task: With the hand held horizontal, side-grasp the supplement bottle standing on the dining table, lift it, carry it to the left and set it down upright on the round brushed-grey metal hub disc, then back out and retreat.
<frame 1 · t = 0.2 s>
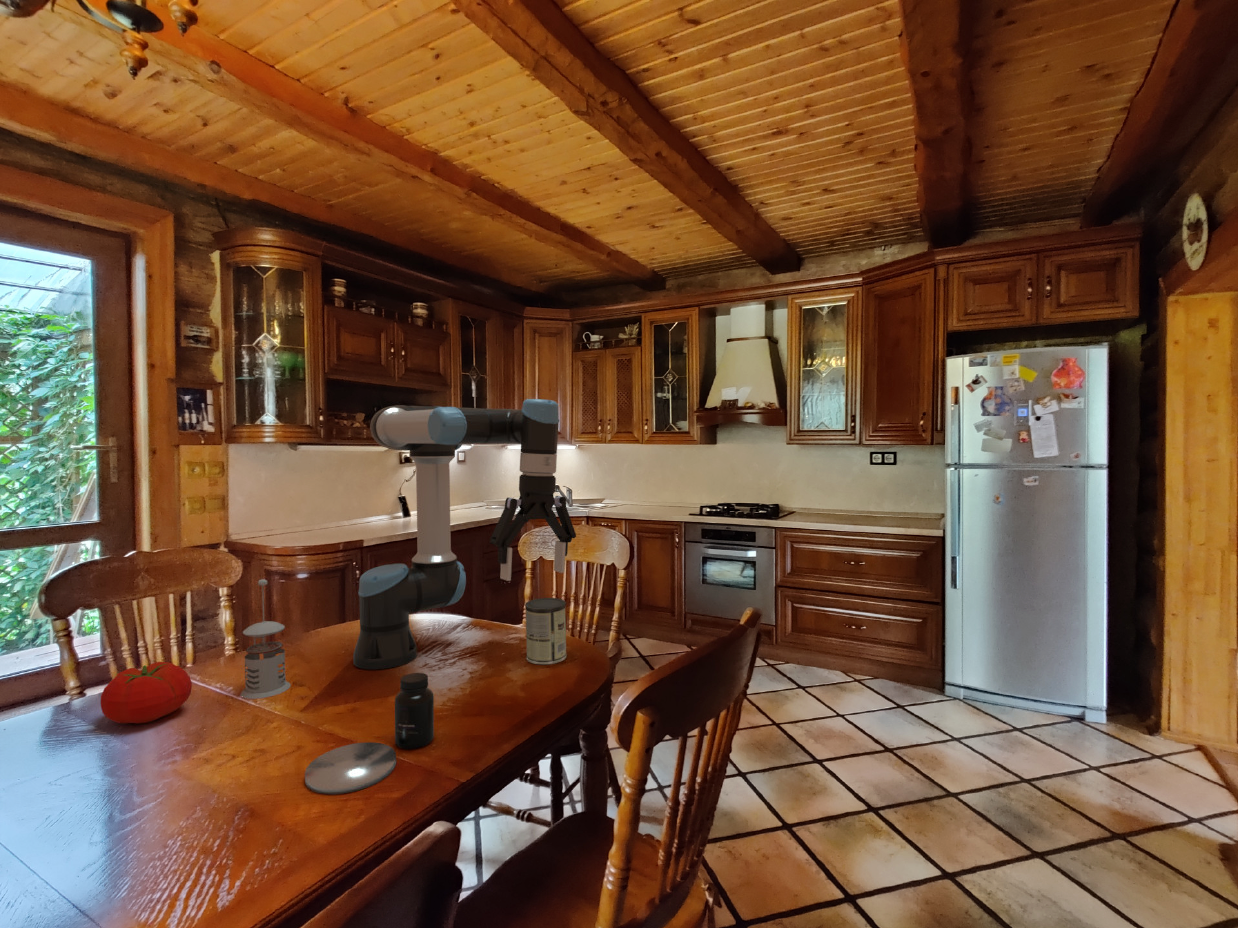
hand: (533, 575, 126), 27 cm above the table, tool pointing down, fingers open, 13 cm apart
supplement bottle: (415, 742, 111), on the table
hub disc: (351, 769, 102), on the table
coffee can: (546, 658, 154), on the table
tomato: (147, 717, 122), on the table
french press: (265, 689, 136), on the table
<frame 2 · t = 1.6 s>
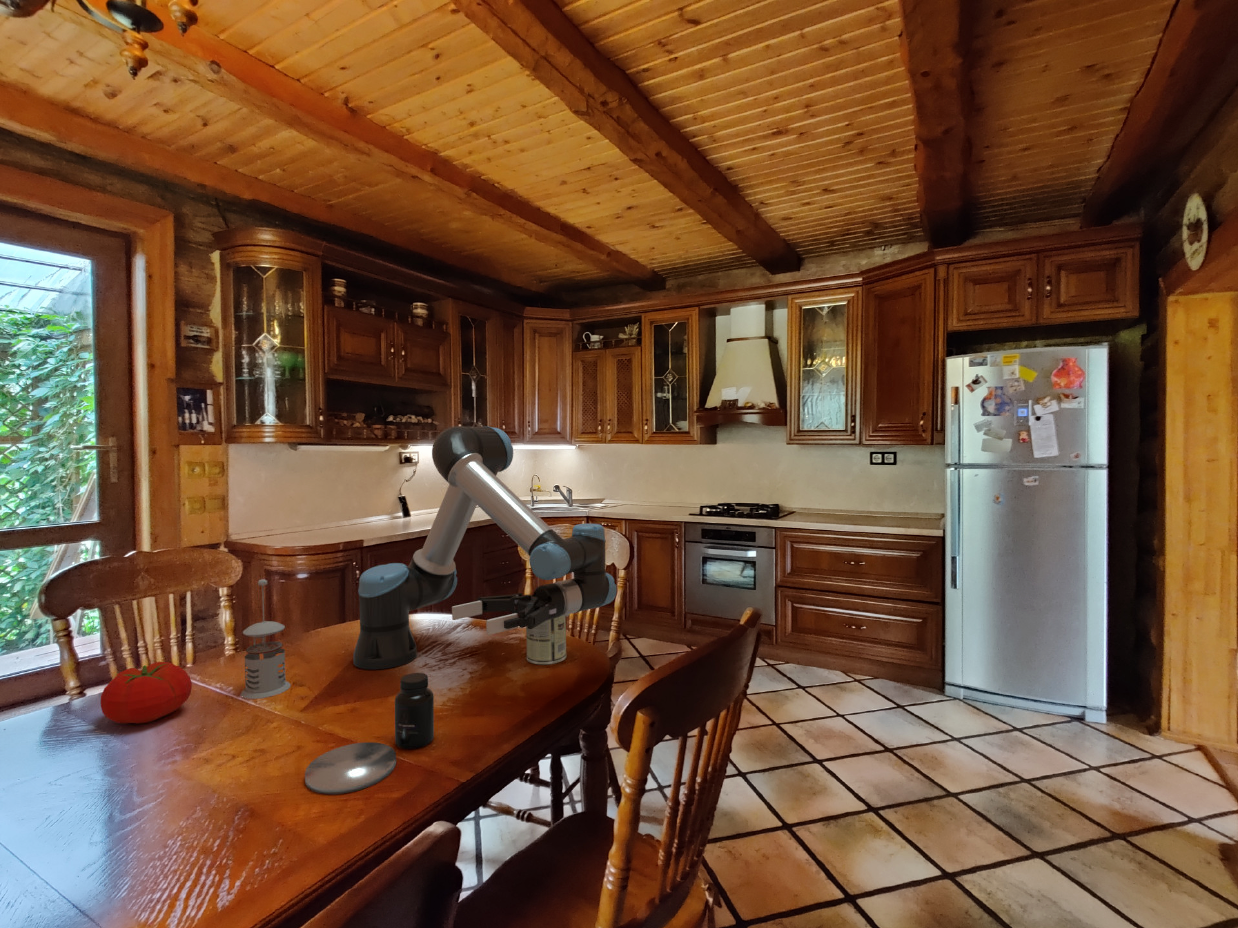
hand: (469, 620, 118), 20 cm above the table, tool horizontal, fingers open, 13 cm apart
nothing on the table moved.
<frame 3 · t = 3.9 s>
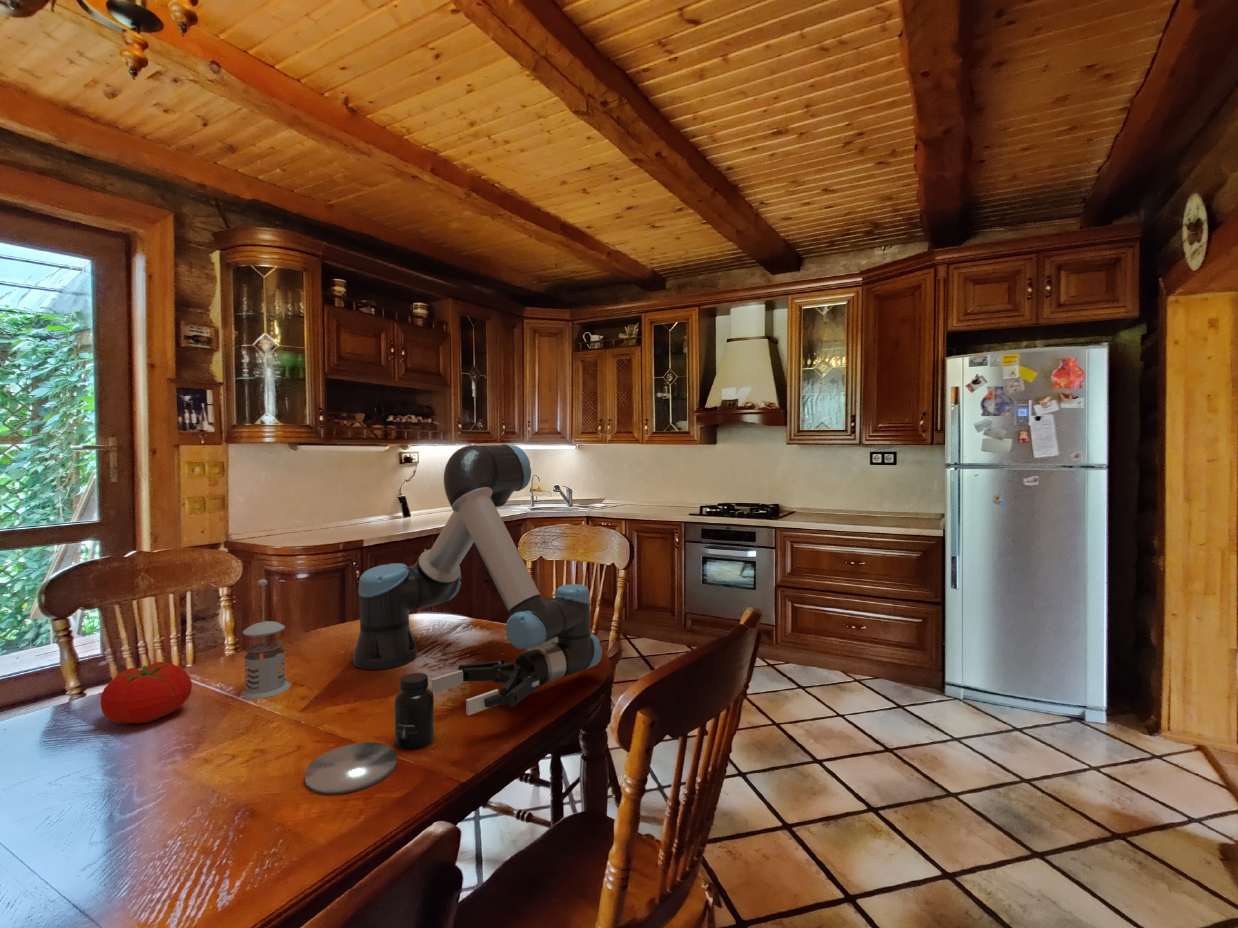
hand: (448, 696, 115), 7 cm above the table, tool horizontal, fingers open, 13 cm apart
nothing on the table moved.
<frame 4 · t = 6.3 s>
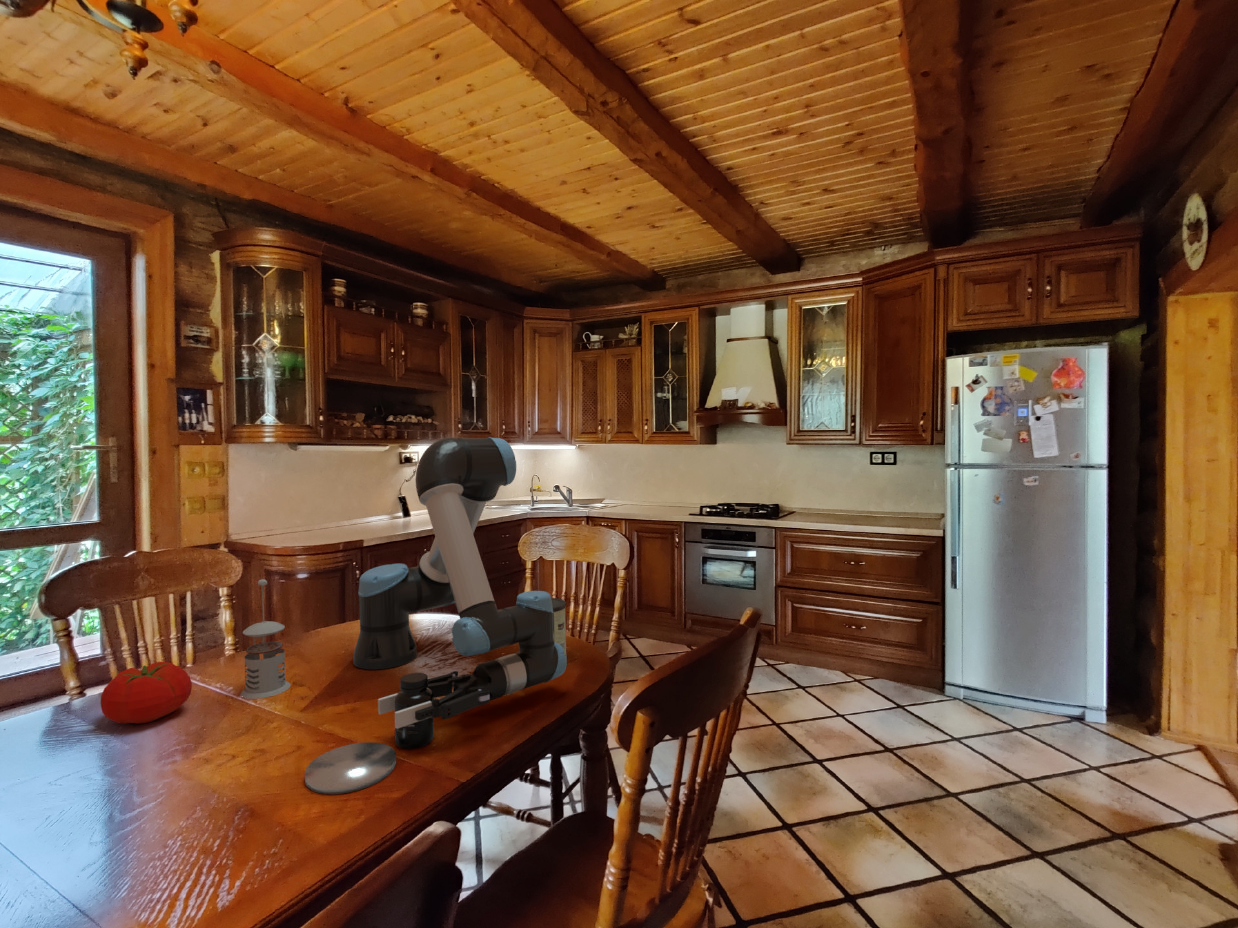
hand: (387, 713, 108), 7 cm above the table, tool horizontal, fingers closed on supplement bottle, 7 cm apart
supplement bottle: (415, 742, 111), on the table, touching gripper
everything else where it was.
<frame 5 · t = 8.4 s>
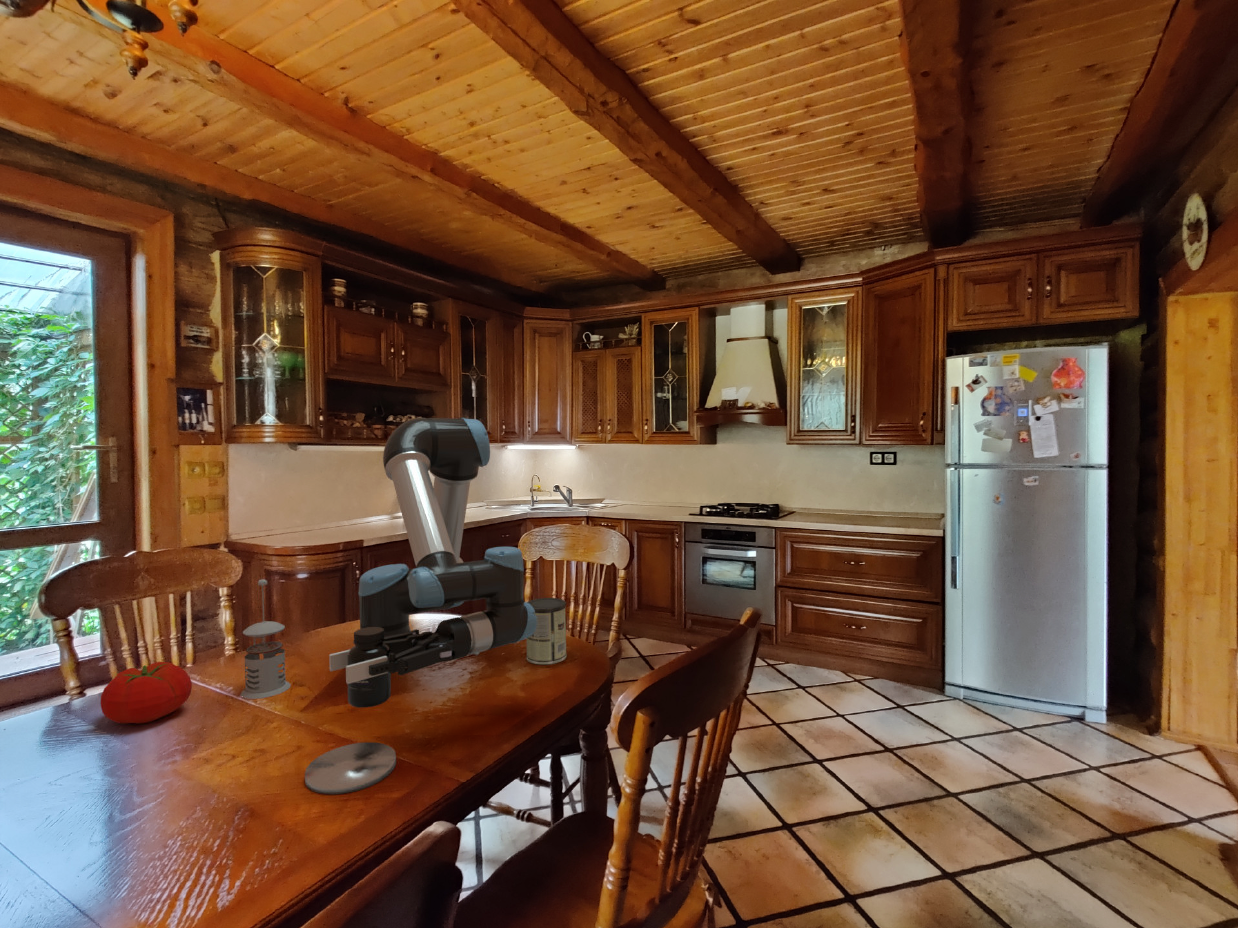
hand: (338, 668, 99), 18 cm above the table, tool horizontal, fingers closed on supplement bottle, 7 cm apart
supplement bottle: (370, 701, 103), point 11 cm above the table, touching gripper
everything else where it was.
when the fingers open (9 cm above the table, at t = 10.6 s): supplement bottle drops 1 cm, resting on hub disc.
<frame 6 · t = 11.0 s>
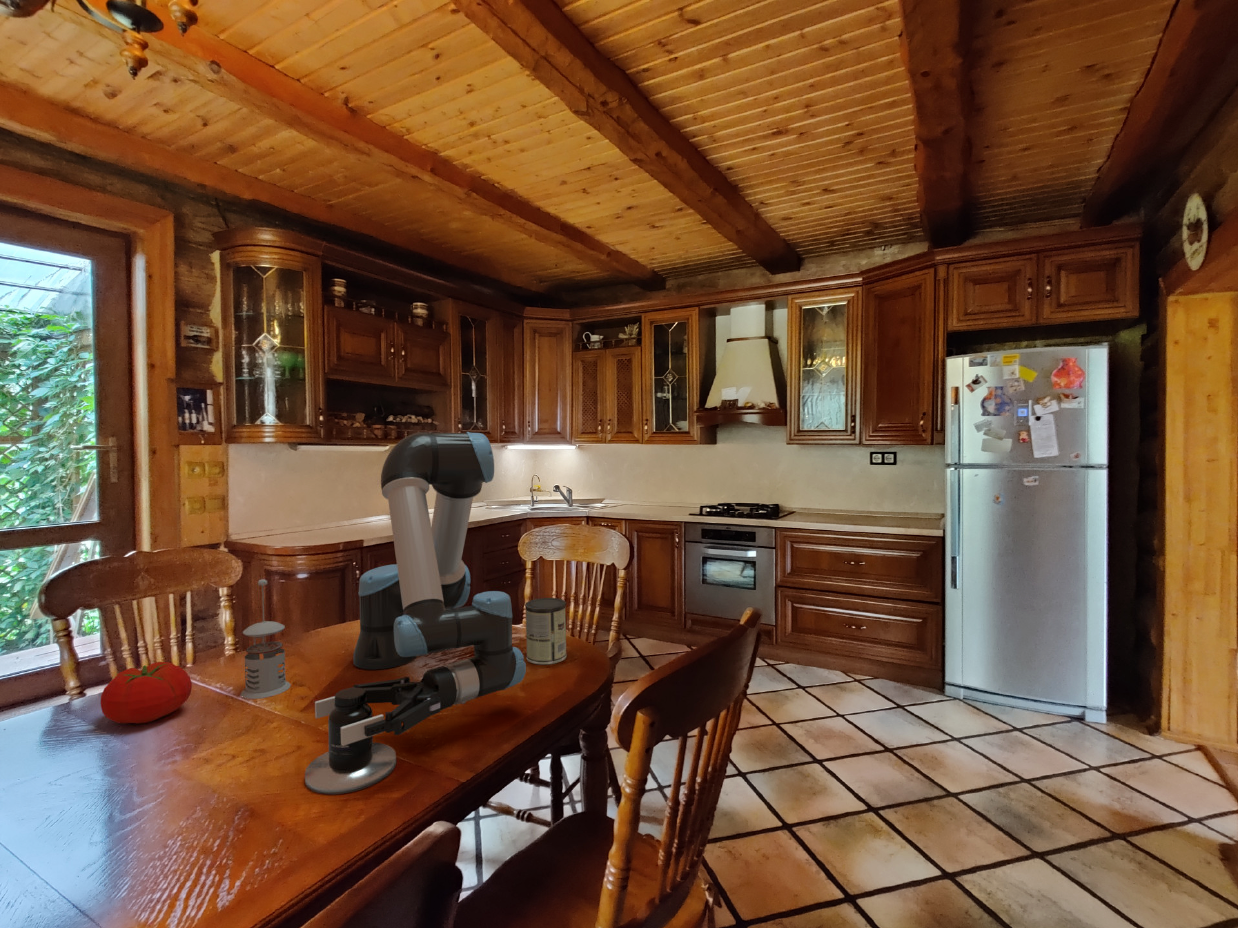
hand: (327, 722, 99), 9 cm above the table, tool horizontal, fingers open, 12 cm apart
supplement bottle: (351, 763, 102), point 1 cm above the table, touching hub disc
everything else where it was.
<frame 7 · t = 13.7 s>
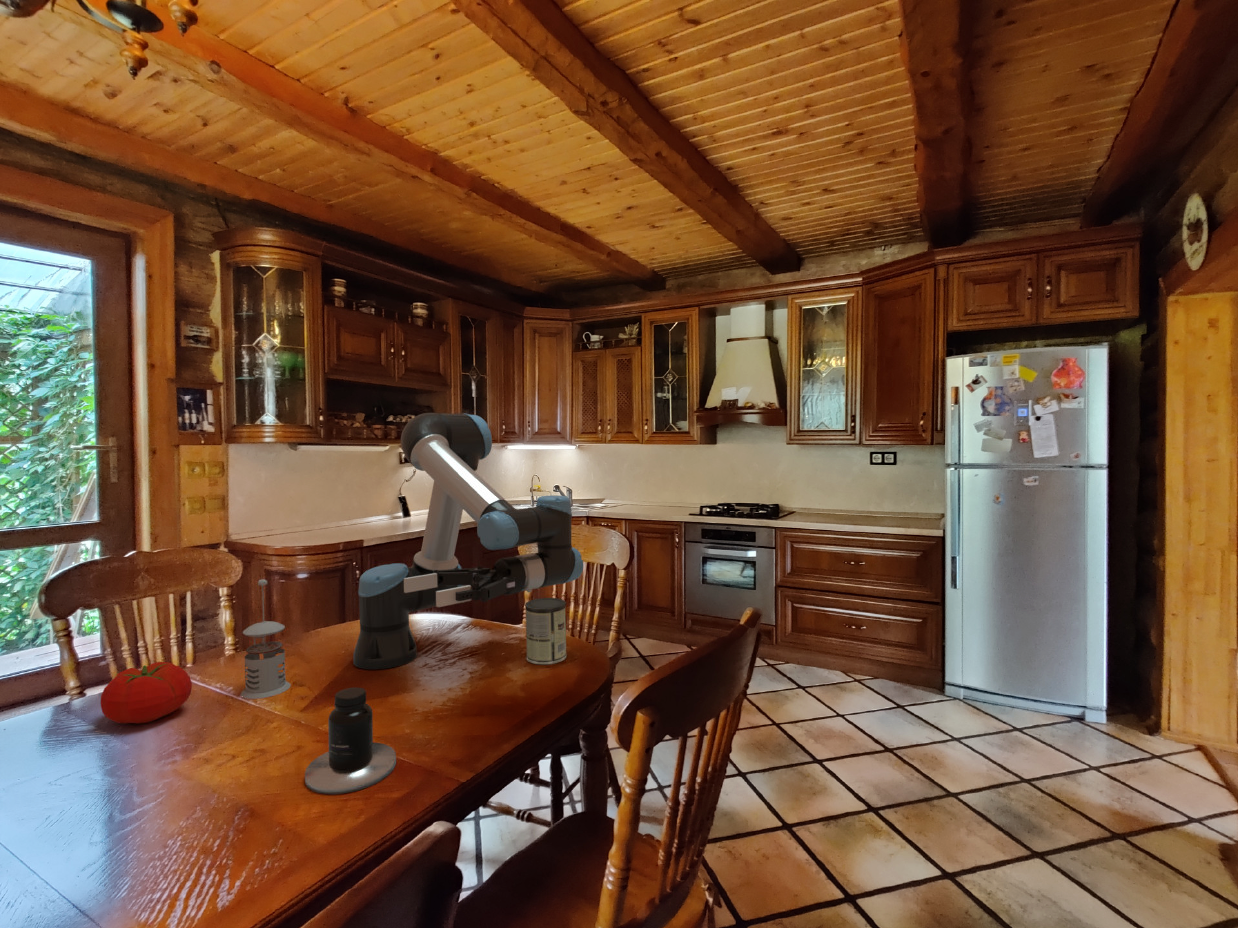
hand: (419, 592, 111), 28 cm above the table, tool horizontal, fingers open, 13 cm apart
nothing on the table moved.
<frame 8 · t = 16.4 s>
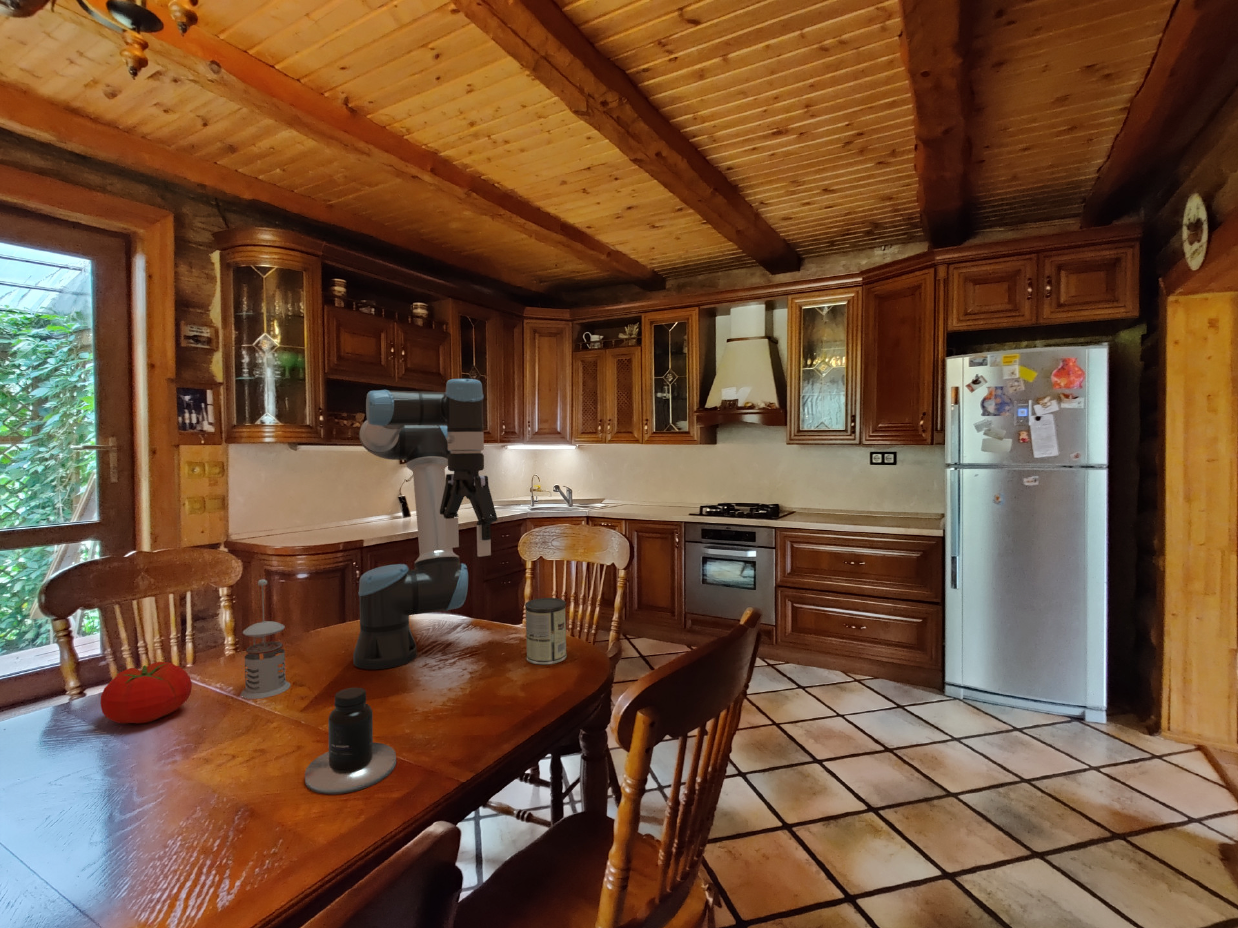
hand: (467, 551, 129), 32 cm above the table, tool pointing down, fingers open, 13 cm apart
nothing on the table moved.
at the end: supplement bottle 0.2 cm from the hub disc (horizontally); supplement bottle tilted 0°; the gripper is holding nothing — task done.
